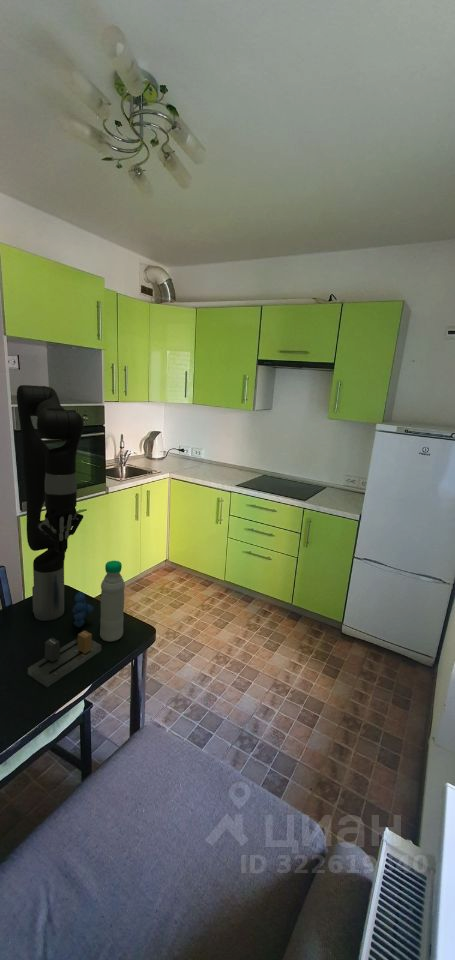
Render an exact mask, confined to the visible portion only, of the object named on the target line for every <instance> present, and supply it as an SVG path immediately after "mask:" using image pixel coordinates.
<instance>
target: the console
mask: <svg viewBox="0 0 455 960" xmlns="http://www.w3.org/2000/svg"><path fill="white" fill-rule="evenodd" d="M101 651H102V645H101V644H100V643H98V642H96V641H94V640H93V639H92V649H91V650H90V651H88V652H87V653H85V654H84V653H83V652H81V651H79V650H78V637H77V638H75V639H74V640H72V641H70V642H68V643H66V644H65V645H63V646H62V647H60V658H58V659H56V660H55V661H53V662H51V661H49V660H48V659H46V658H45V657H44V658H42V659H41V660H38V661H37V662H35V663H34V664H32V665H30V666H29V667H27V675H28V676H29V677H31V678H33V679H34V680H36V681H37V682H38V683H40V684H41V685H43V686H44V687H45V688H49V687H50V686H51V685H53V684H55V683H56V682H58V681H59V680H60V679H61V678H63V677H65V676H67V675H68V674H69V673H71V672H73V671H74V670H75V669H77V668H78V667H80V666H81V665H83V664H84V663H85V662H87V661H88V660H90V659H91V658H93V657H94V656H96V655H97V654H99V653H100V652H101Z"/></svg>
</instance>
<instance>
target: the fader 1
mask: <svg viewBox="0 0 455 960" xmlns="http://www.w3.org/2000/svg"><path fill="white" fill-rule="evenodd" d="M60 648H61V646H60V641H59V640H57V639H55V638H54V637H51V638H49V639H47V640H46V641H44V658H46V659H48V660H49V661H51V662H53V661H55V660H56V659H58V658H60Z"/></svg>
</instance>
